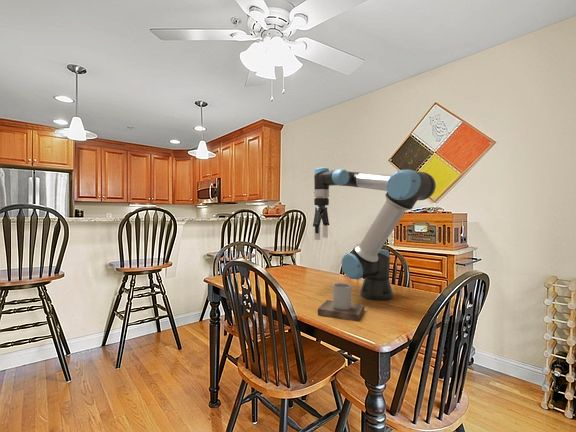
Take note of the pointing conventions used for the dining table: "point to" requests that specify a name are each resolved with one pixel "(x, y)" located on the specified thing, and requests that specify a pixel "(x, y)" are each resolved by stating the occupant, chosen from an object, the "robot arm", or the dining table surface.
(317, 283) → the dining table surface
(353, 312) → the board
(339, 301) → the cup
